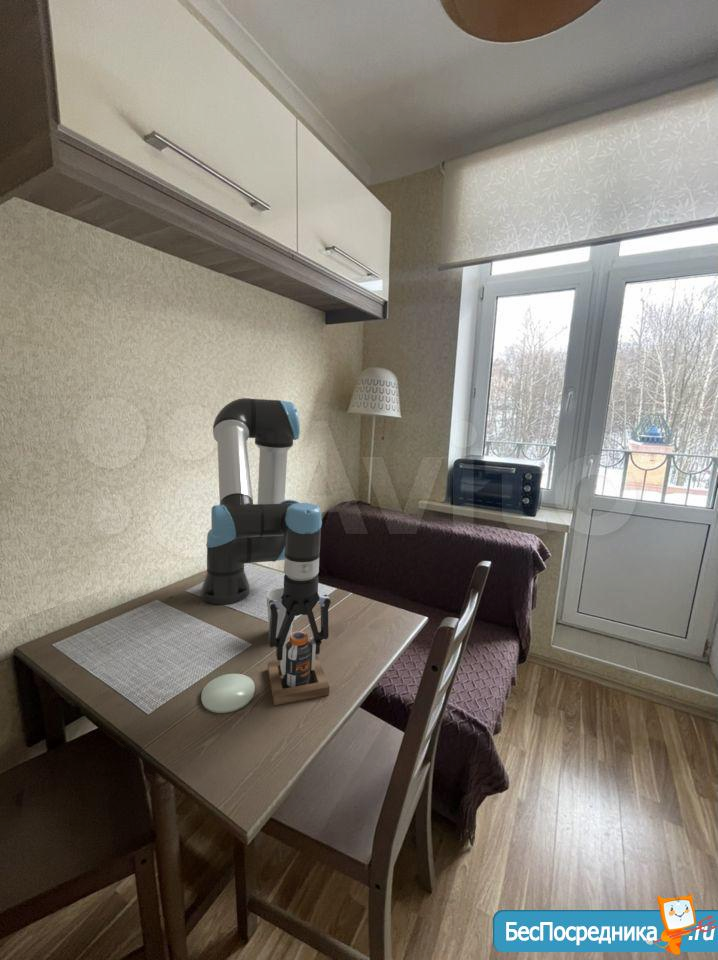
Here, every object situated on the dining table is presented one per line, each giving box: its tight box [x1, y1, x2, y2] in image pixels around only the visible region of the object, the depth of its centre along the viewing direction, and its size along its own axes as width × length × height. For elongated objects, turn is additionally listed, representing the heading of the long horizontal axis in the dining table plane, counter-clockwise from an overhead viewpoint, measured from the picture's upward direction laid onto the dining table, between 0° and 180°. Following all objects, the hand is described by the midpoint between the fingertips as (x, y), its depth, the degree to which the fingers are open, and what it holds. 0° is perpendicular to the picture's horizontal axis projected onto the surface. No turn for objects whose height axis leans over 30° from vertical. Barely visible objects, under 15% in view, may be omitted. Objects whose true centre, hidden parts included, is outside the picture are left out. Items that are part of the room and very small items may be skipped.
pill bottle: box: [283, 630, 311, 688], centre depth 88 cm, size 6×6×11 cm
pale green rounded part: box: [201, 673, 256, 714], centre depth 84 cm, size 11×11×1 cm
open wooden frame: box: [267, 654, 330, 706], centre depth 89 cm, size 12×12×2 cm
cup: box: [266, 587, 294, 641], centre depth 106 cm, size 8×8×12 cm
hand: (297, 668), depth 88 cm, fingers closed on pill bottle, 6 cm apart
